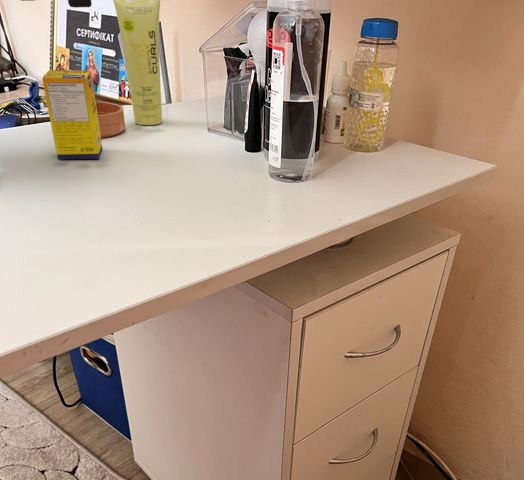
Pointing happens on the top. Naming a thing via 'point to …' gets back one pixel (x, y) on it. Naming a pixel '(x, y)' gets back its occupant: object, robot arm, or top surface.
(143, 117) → the tube
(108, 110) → the shallow terracotta bowl
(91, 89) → the supplement box
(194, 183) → the top surface
